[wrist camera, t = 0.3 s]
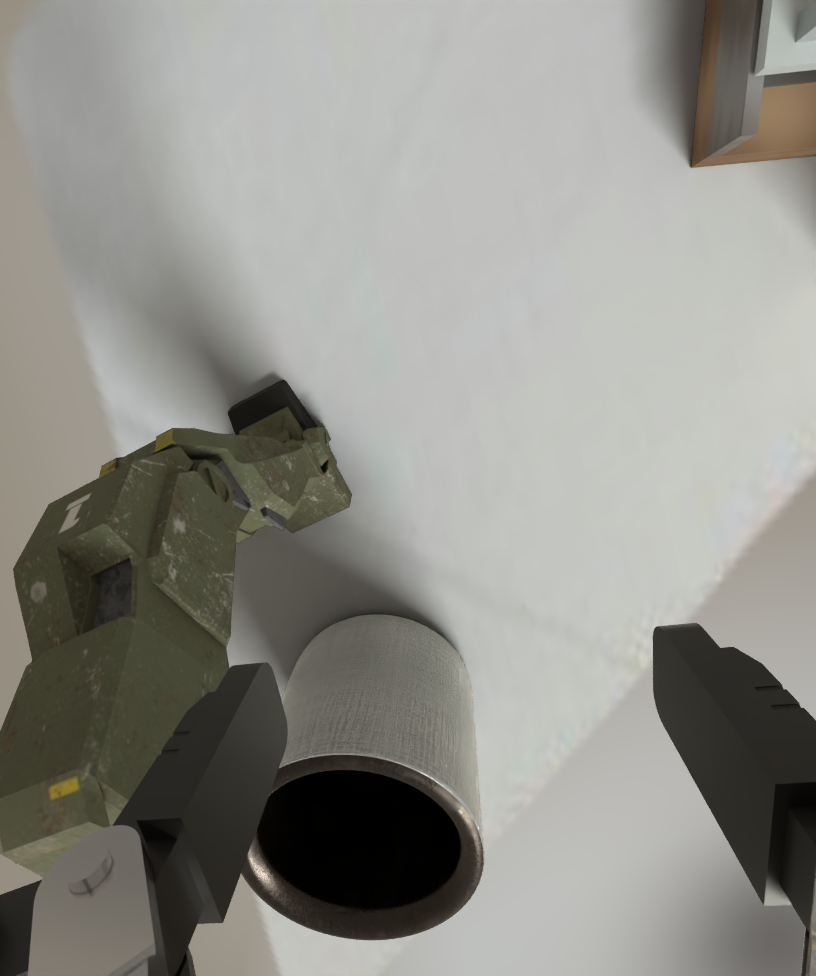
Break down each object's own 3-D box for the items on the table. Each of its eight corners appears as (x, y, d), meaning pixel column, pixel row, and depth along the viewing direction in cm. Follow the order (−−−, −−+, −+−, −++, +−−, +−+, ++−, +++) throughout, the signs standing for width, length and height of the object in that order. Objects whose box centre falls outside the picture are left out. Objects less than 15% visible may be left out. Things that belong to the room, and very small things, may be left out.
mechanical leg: (186, 371, 36) (-296, 797, 10) (268, 326, 35) (-53, 684, 9) (290, 510, 43) (151, 985, 17) (363, 476, 41) (332, 936, 16)
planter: (260, 663, 45) (173, 826, 30) (401, 574, 41) (379, 710, 27) (367, 777, 49) (336, 974, 34) (506, 704, 45) (538, 889, 30)
